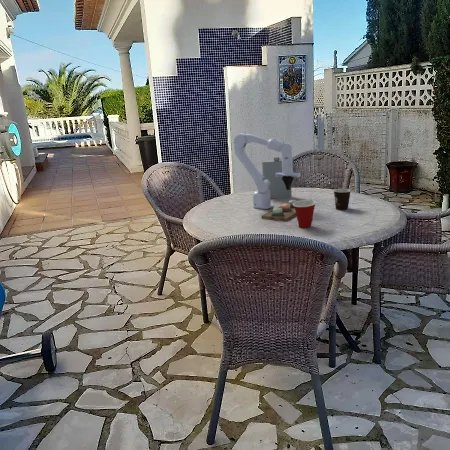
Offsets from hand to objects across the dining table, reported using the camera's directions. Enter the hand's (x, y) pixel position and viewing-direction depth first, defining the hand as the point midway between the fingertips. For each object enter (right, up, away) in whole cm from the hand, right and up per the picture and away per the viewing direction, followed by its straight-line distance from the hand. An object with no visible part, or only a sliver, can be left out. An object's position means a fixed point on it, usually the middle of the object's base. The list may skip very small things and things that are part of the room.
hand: (288, 189), depth 235 cm
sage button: (-8, -13, -17) cm, 23 cm away
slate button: (+2, -8, -3) cm, 9 cm away
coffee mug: (+28, -11, -5) cm, 30 cm away
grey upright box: (-3, -2, +28) cm, 29 cm away
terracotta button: (-3, -11, -10) cm, 15 cm away
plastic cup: (+3, -21, -33) cm, 39 cm away
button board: (-3, -13, -9) cm, 16 cm away
